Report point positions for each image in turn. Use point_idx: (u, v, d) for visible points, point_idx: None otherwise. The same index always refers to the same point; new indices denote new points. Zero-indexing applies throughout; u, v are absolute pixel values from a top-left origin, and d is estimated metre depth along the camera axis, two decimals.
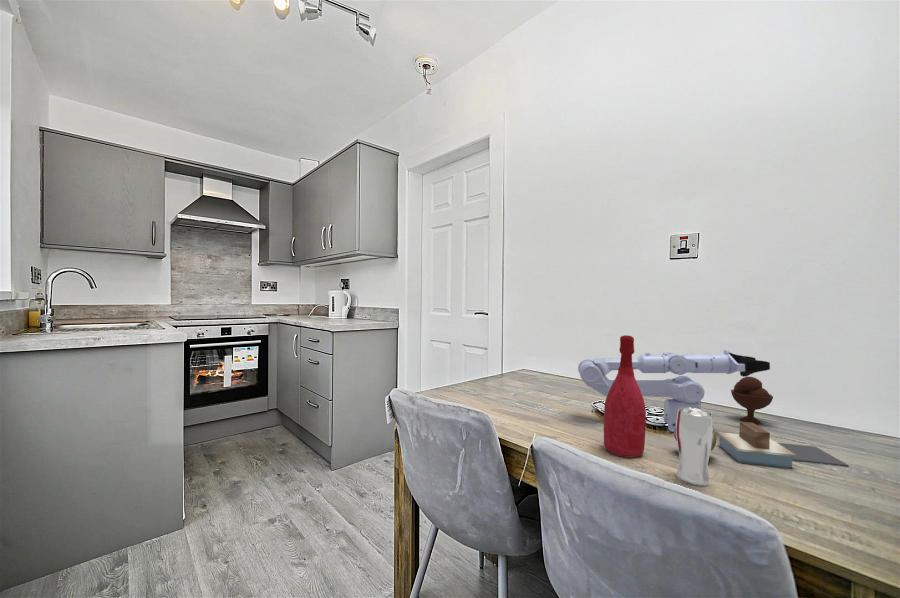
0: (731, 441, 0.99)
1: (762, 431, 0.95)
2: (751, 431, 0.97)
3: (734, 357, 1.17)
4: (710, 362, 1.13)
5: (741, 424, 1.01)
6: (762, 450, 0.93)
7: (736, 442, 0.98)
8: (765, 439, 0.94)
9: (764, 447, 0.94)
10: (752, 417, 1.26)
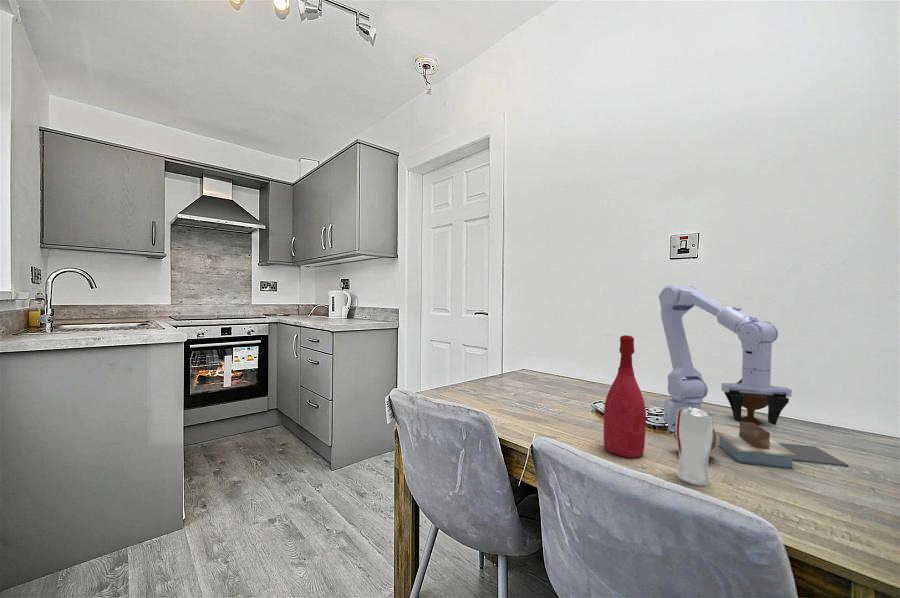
0: (731, 441, 0.99)
1: (762, 431, 0.95)
2: (751, 431, 0.97)
3: (774, 403, 0.96)
4: (751, 367, 0.96)
5: (741, 424, 1.01)
6: (762, 450, 0.93)
7: (736, 442, 0.98)
8: (765, 439, 0.94)
9: (764, 447, 0.94)
10: (752, 417, 1.26)
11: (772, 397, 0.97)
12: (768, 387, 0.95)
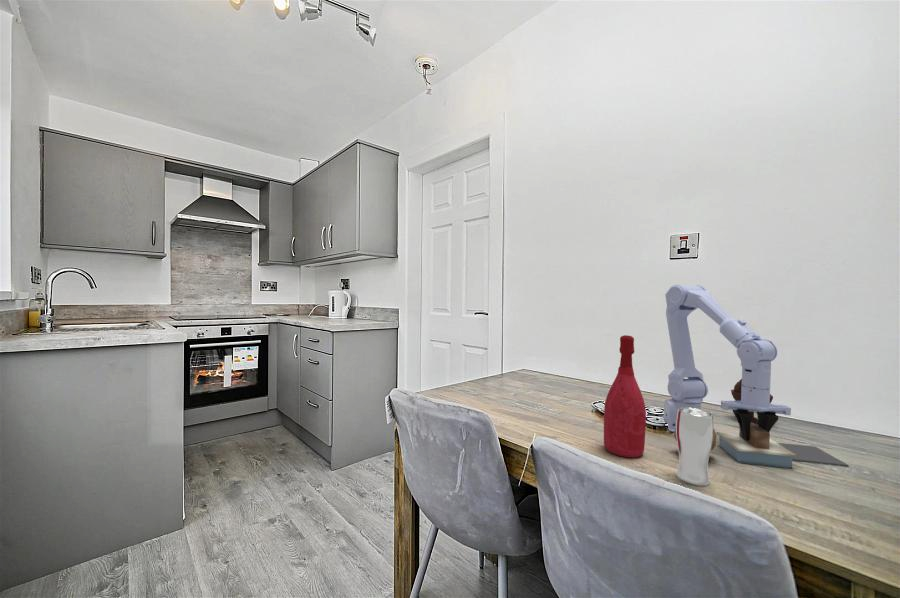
0: (731, 441, 0.99)
1: (762, 431, 0.95)
2: (751, 431, 0.97)
3: (764, 421, 0.97)
4: (750, 385, 0.96)
5: None
6: (762, 450, 0.93)
7: (736, 442, 0.98)
8: (765, 439, 0.94)
9: (764, 447, 0.94)
10: (752, 417, 1.26)
11: (762, 414, 0.98)
12: (768, 406, 0.95)
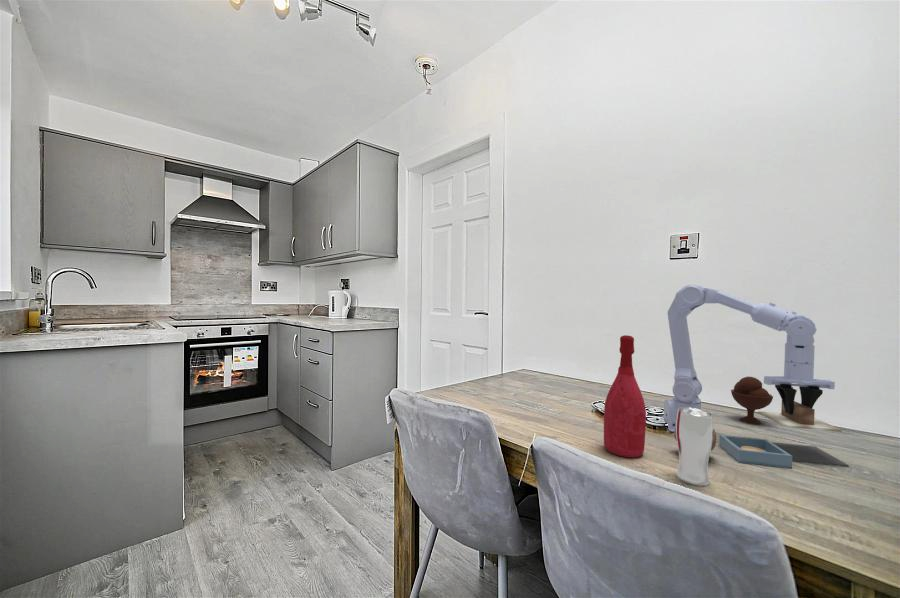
0: (775, 418, 1.01)
1: (806, 408, 0.97)
2: (795, 408, 0.99)
3: (808, 395, 0.99)
4: (803, 361, 0.98)
5: None
6: (807, 426, 0.95)
7: (780, 419, 1.01)
8: (810, 415, 0.96)
9: (809, 423, 0.96)
10: (752, 417, 1.26)
11: (805, 389, 1.00)
12: (812, 380, 0.98)
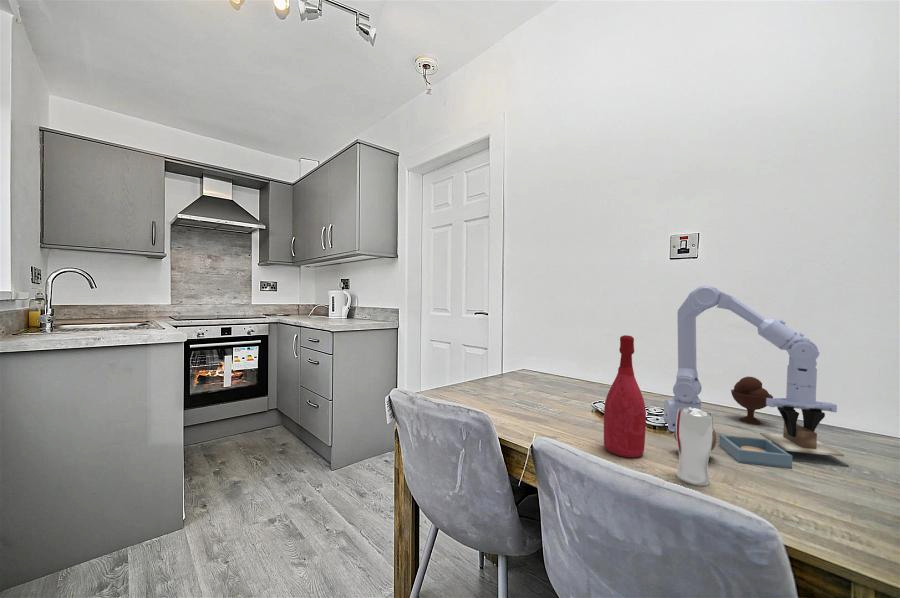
0: (777, 441, 1.01)
1: (809, 431, 0.98)
2: (797, 432, 0.99)
3: (810, 417, 0.99)
4: (806, 384, 0.98)
5: (785, 425, 1.04)
6: (810, 450, 0.96)
7: (782, 442, 1.01)
8: (813, 439, 0.97)
9: (811, 447, 0.97)
10: (752, 417, 1.26)
11: (808, 411, 1.00)
12: (814, 403, 0.98)
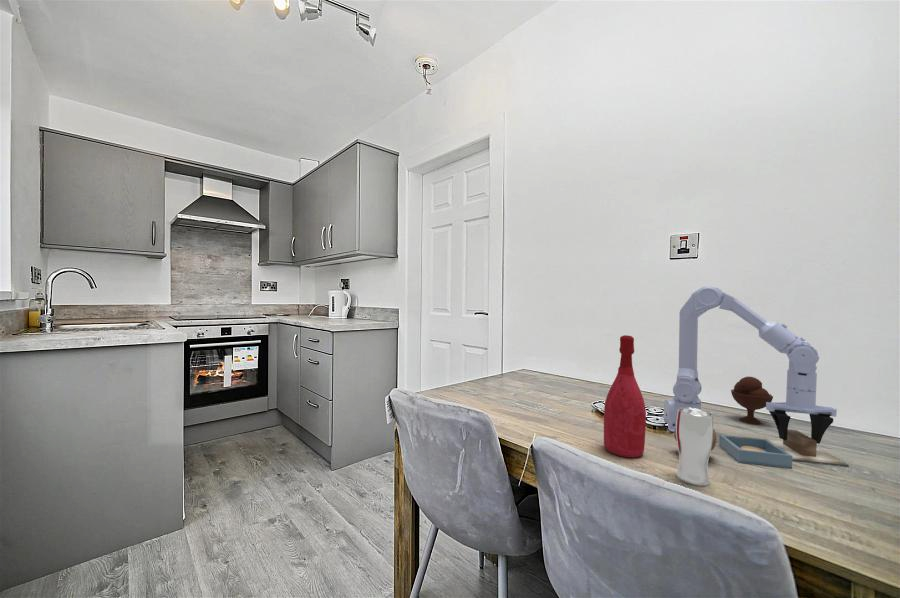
0: None
1: (809, 439, 0.98)
2: (797, 439, 0.99)
3: (819, 422, 0.99)
4: (805, 389, 0.98)
5: None
6: (809, 458, 0.96)
7: (782, 449, 1.01)
8: (812, 447, 0.97)
9: (811, 455, 0.97)
10: (752, 417, 1.26)
11: (816, 416, 1.00)
12: (814, 407, 0.98)
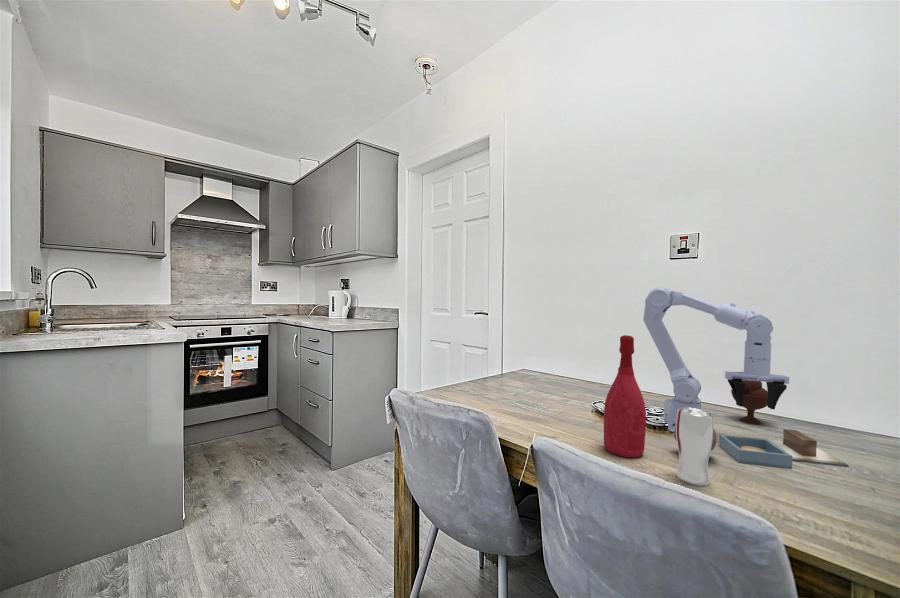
0: None
1: (809, 439, 0.98)
2: (797, 439, 0.99)
3: (773, 389, 1.05)
4: (761, 357, 1.04)
5: (785, 432, 1.04)
6: (809, 458, 0.96)
7: (782, 449, 1.01)
8: (812, 447, 0.97)
9: (811, 455, 0.97)
10: (752, 417, 1.26)
11: (771, 384, 1.06)
12: (768, 375, 1.04)
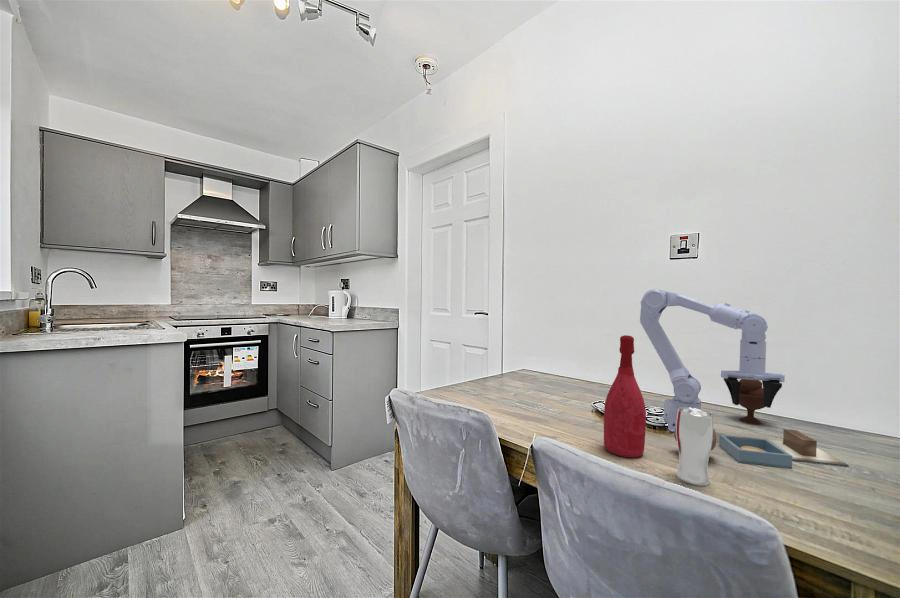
0: None
1: (809, 439, 0.98)
2: (797, 439, 0.99)
3: (769, 388, 1.06)
4: (756, 356, 1.05)
5: (785, 432, 1.04)
6: (809, 458, 0.96)
7: (782, 449, 1.01)
8: (812, 447, 0.97)
9: (811, 455, 0.97)
10: (752, 417, 1.26)
11: (767, 383, 1.07)
12: (763, 374, 1.05)
